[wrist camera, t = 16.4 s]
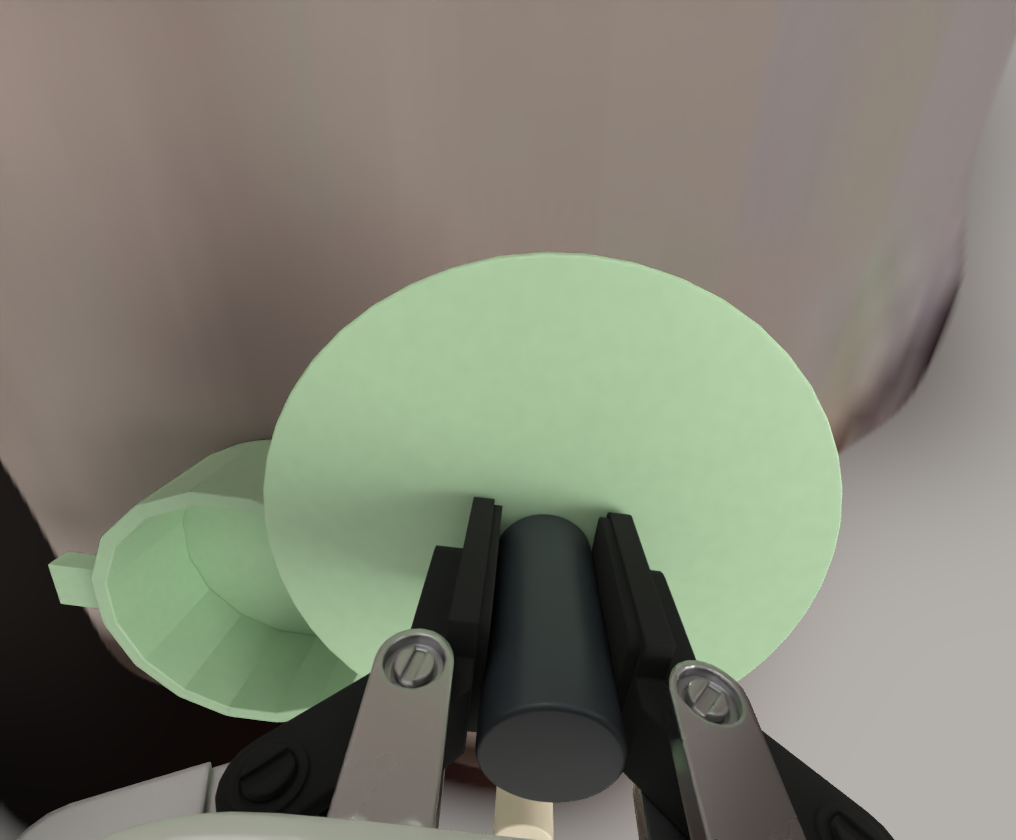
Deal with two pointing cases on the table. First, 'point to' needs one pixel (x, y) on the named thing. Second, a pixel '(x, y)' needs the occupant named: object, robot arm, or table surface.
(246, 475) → the pot
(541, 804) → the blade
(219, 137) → the table surface
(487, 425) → the lid
